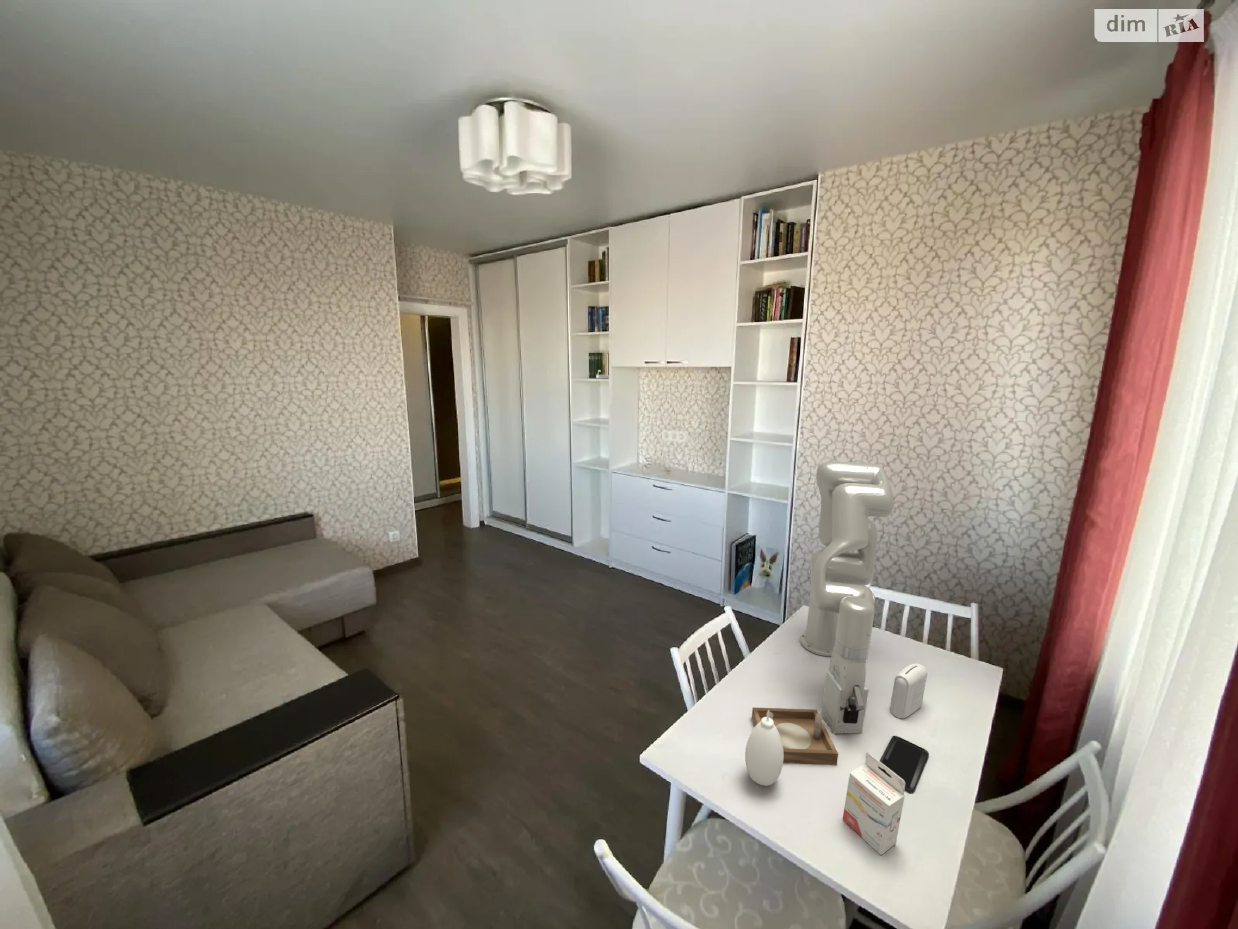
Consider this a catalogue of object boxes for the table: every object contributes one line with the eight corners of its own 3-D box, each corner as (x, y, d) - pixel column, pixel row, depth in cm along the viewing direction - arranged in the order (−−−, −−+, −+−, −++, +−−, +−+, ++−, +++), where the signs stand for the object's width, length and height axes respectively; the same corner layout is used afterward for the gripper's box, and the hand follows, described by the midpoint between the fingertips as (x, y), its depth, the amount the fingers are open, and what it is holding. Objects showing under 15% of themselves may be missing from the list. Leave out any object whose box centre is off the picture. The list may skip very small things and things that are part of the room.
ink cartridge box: (841, 820, 101) (849, 759, 97) (856, 809, 103) (865, 749, 100) (881, 857, 93) (892, 792, 90) (897, 844, 96) (908, 781, 92)
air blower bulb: (750, 760, 115) (756, 692, 110) (785, 776, 111) (792, 706, 106) (738, 784, 108) (743, 713, 104) (774, 803, 104) (782, 729, 100)
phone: (929, 751, 117) (913, 792, 106) (929, 755, 117) (912, 796, 106) (892, 733, 122) (873, 771, 111) (892, 737, 122) (872, 775, 112)
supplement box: (833, 735, 122) (839, 690, 119) (820, 713, 130) (825, 670, 127) (863, 734, 123) (869, 689, 120) (848, 712, 130) (854, 670, 127)
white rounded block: (907, 697, 136) (914, 656, 133) (924, 706, 133) (931, 665, 130) (886, 711, 130) (893, 670, 128) (903, 722, 127) (910, 679, 124)
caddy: (751, 717, 128) (753, 693, 126) (815, 719, 127) (818, 695, 126) (765, 762, 114) (767, 736, 113) (836, 764, 114) (840, 738, 112)
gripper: (822, 627, 130) (815, 686, 134) (850, 670, 113) (841, 736, 117) (852, 628, 129) (844, 687, 134) (884, 671, 113) (874, 737, 117)
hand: (843, 710), depth 125 cm, fingers closed on supplement box, 7 cm apart
